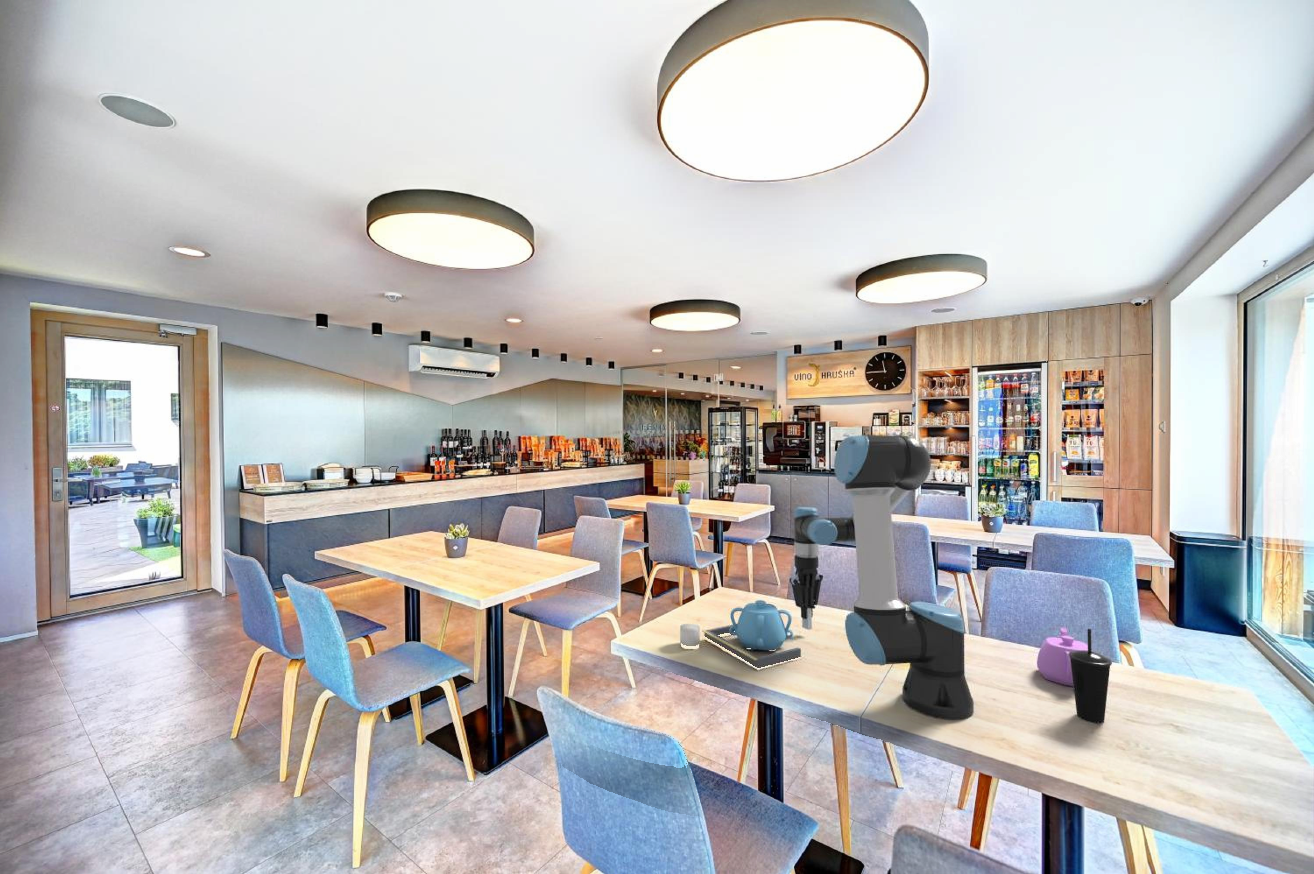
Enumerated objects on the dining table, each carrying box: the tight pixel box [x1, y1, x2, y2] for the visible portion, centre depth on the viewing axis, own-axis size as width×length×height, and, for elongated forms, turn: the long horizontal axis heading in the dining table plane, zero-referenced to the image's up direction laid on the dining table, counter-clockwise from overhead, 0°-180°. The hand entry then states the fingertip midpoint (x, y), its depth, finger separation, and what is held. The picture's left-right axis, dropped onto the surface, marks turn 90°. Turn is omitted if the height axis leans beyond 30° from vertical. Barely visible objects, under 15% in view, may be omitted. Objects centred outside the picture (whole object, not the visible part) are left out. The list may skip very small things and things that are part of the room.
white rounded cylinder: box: [679, 623, 701, 646], centre depth 167 cm, size 7×6×6 cm
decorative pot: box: [729, 599, 794, 651], centre depth 167 cm, size 16×16×14 cm
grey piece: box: [701, 623, 802, 668], centre depth 163 cm, size 26×17×3 cm, turn 29°
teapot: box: [1036, 626, 1088, 687], centre depth 142 cm, size 13×20×11 cm
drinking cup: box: [1069, 628, 1113, 724], centre depth 122 cm, size 8×8×20 cm
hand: (806, 627), depth 175 cm, fingers closed
